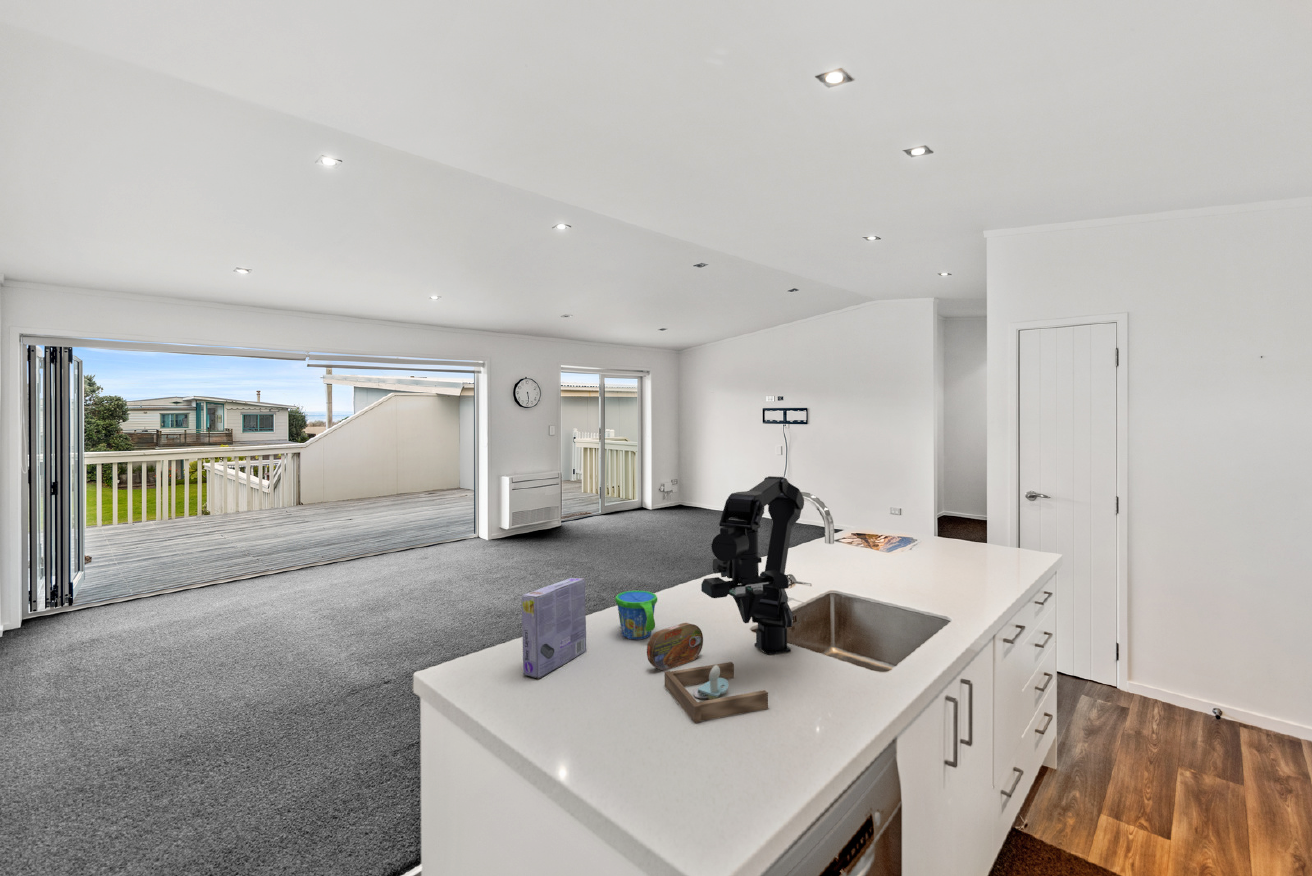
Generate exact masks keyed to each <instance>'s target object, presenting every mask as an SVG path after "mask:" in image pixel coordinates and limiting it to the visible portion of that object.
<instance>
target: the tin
mask: <svg viewBox="0 0 1312 876" xmlns="http://www.w3.org/2000/svg"><path fill="white" fill-rule="evenodd" d="M703 645H704V636H703V632H702V629H700V627H699V626H698V625H697V624H693V623H688V622H683V623H680V624H675V625H673V626H670V627H666V628H663V629H660V630H657V631H656V632H654V633H653V634H652V635H651V637H650V638H649V640H648V642H647V645H646V657H647V660H648V662H649V664H650V665H652V666H653V667H654V668H656V669H658V670H661V671H670V670H671V669H674V668H677V667H679V666H682V665H685V664H688V663H691V662H693V661H695V660H696V659H697V658H698V657H699V655H700V654H701V652H702V649H703Z"/></svg>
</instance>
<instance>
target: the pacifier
mask: <svg viewBox="0 0 1312 876" xmlns="http://www.w3.org/2000/svg"><path fill="white" fill-rule="evenodd" d="M714 665H715V664H714ZM719 676H720V668H719V667H718V666H717V665H715V666H714V667H713V668H712V670H711V672H710V674H709V681H708V682H707V683H702V685H699V686H698V687H696V688H695V689H694V691H693V695H694V696H693V697H694V698H695V697H696V698H698V699H707V700H712V699H718V698H719V696H720V695H721V694H724V693H725V692H727V691H728V689H729V681H728V679H724V678H719Z"/></svg>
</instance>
